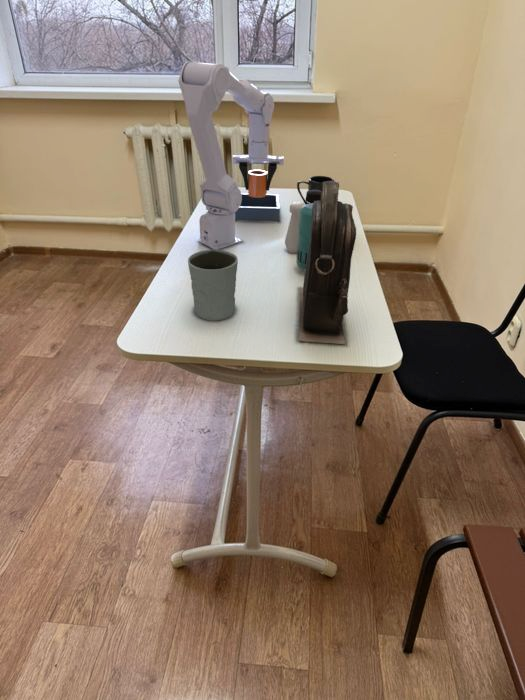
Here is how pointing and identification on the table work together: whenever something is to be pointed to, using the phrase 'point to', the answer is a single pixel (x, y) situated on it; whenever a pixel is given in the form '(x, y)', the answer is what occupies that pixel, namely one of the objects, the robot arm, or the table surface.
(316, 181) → the mug
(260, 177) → the cup
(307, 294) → the shoulder bag
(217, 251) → the grey plant pot
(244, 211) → the dark grey storage bin
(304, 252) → the beverage bottle
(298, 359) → the table surface
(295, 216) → the salt shaker
